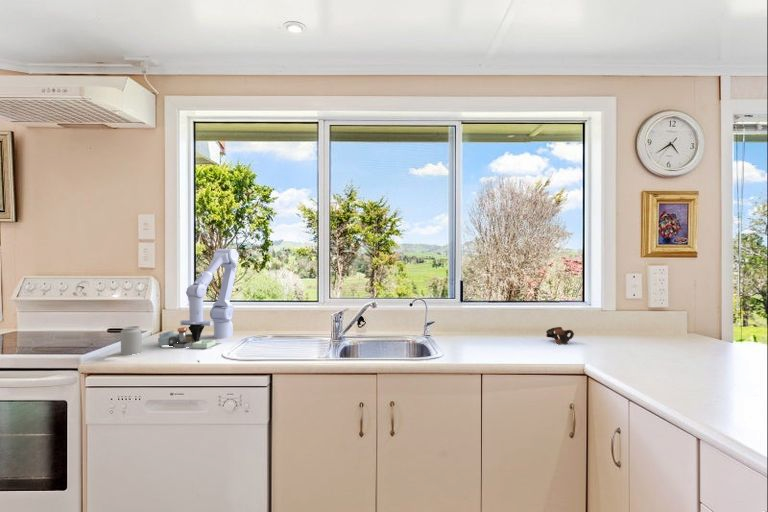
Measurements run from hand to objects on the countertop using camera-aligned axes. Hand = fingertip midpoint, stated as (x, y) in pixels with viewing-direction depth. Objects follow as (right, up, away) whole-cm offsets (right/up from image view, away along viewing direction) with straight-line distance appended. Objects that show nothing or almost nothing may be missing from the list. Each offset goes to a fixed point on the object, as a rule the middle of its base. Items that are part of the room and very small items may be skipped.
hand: (196, 341), depth 201 cm
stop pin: (-4, -1, -6) cm, 7 cm away
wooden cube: (-3, -1, 0) cm, 4 cm away
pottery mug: (+166, -2, +6) cm, 166 cm away
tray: (+6, -1, -7) cm, 9 cm away
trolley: (-10, -1, -2) cm, 10 cm away
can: (-19, -3, -18) cm, 26 cm away
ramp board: (-2, -2, -3) cm, 4 cm away
